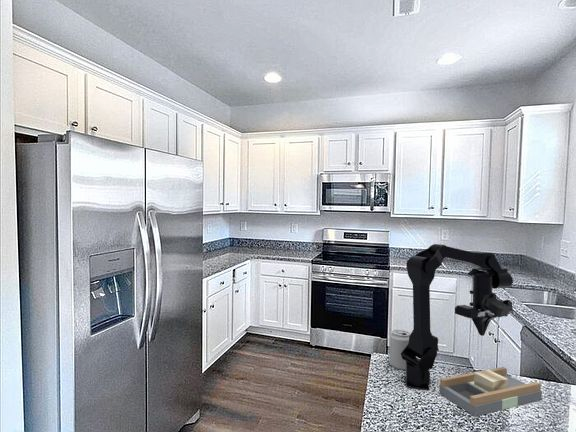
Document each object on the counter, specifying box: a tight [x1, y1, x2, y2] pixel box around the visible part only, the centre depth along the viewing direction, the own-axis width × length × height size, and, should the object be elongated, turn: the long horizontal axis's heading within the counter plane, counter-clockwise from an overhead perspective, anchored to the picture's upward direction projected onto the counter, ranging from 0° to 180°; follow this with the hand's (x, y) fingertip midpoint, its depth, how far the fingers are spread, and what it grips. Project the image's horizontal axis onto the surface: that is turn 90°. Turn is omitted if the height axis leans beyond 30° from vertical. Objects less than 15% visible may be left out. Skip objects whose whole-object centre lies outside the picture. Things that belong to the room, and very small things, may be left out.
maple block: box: [474, 369, 508, 392], centre depth 96 cm, size 6×6×4 cm
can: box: [388, 329, 411, 371], centre depth 115 cm, size 8×8×12 cm
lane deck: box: [438, 366, 543, 417], centre depth 96 cm, size 26×12×4 cm, turn 110°
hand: (481, 335), depth 111 cm, fingers closed
